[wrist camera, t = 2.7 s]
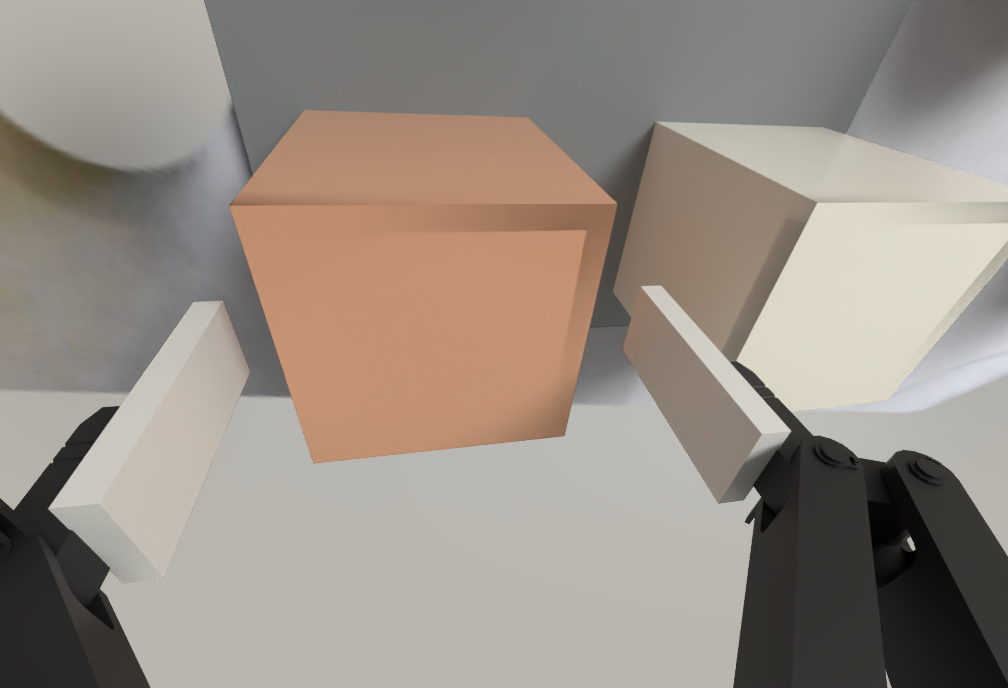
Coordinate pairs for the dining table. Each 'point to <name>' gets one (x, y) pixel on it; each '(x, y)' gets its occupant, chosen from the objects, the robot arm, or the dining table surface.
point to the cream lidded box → (811, 252)
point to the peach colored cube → (424, 278)
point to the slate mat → (557, 72)
